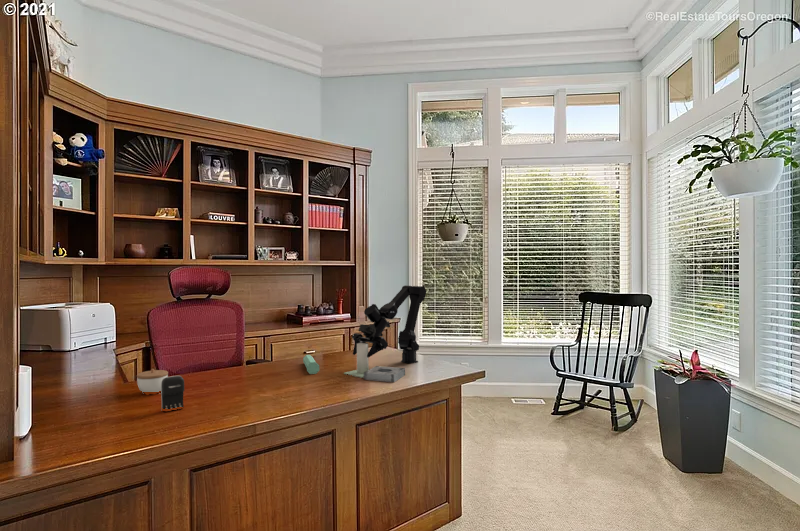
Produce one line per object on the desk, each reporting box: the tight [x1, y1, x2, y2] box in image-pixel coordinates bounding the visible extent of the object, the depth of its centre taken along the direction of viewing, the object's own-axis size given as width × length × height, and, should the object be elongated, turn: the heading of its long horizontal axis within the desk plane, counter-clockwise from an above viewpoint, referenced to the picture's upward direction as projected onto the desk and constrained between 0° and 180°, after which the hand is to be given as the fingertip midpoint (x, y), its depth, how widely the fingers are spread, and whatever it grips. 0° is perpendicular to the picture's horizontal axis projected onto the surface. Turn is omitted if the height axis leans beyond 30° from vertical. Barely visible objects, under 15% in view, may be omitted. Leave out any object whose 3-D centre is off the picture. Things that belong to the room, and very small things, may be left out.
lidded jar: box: [136, 368, 169, 393], centre depth 182 cm, size 11×11×9 cm
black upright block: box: [160, 375, 185, 409], centre depth 160 cm, size 7×4×11 cm, turn 129°
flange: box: [363, 365, 406, 383], centre depth 206 cm, size 14×14×3 cm
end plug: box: [356, 342, 370, 374], centre depth 213 cm, size 5×5×13 cm
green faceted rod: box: [302, 354, 320, 375], centre depth 225 cm, size 6×6×25 cm
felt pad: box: [343, 369, 364, 379], centre depth 213 cm, size 12×12×1 cm
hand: (360, 355), depth 212 cm, fingers open, 9 cm apart
